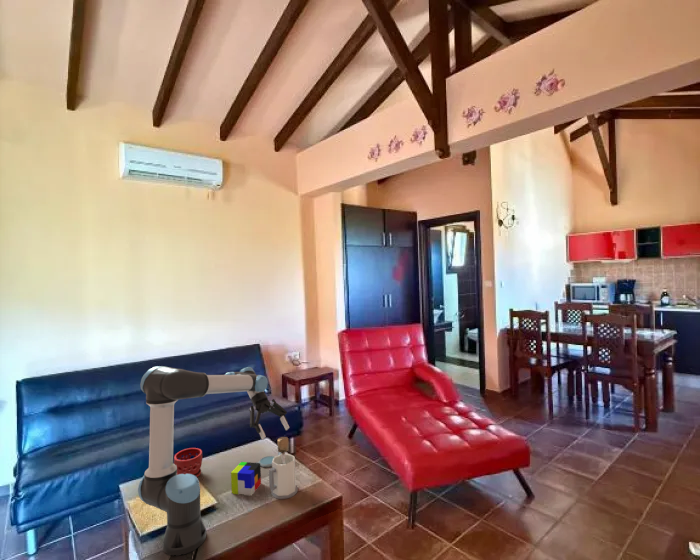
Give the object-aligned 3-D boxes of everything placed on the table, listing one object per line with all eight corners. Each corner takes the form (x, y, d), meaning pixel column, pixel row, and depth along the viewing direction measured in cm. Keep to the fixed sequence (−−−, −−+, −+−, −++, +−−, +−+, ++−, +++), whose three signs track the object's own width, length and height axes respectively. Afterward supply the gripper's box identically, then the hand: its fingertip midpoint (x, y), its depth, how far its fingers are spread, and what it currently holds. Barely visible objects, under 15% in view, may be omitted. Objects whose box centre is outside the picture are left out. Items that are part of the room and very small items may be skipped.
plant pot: (169, 478, 189) (168, 455, 188) (194, 467, 199) (193, 445, 199) (183, 487, 181) (182, 462, 180) (208, 475, 191) (207, 451, 191)
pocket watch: (283, 445, 198) (253, 449, 195) (283, 465, 199) (254, 470, 195) (281, 437, 208) (253, 441, 204) (282, 456, 208) (254, 461, 204)
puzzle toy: (251, 495, 172) (250, 474, 172) (231, 493, 174) (230, 472, 174) (261, 483, 182) (260, 463, 182) (242, 482, 184) (241, 461, 184)
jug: (279, 504, 165) (278, 470, 165) (263, 493, 173) (262, 461, 173) (303, 490, 175) (301, 458, 175) (286, 481, 183) (285, 450, 183)
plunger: (282, 493, 169) (281, 444, 168) (272, 486, 174) (270, 439, 174) (296, 485, 175) (295, 438, 174) (285, 479, 180) (284, 434, 180)
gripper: (275, 393, 200) (293, 429, 190) (232, 406, 181) (250, 446, 171) (280, 385, 196) (300, 421, 186) (237, 397, 178) (256, 438, 168)
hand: (276, 433), depth 179 cm, fingers open, 13 cm apart
